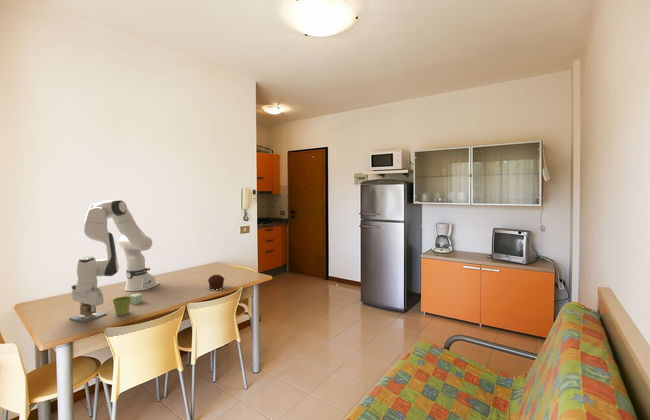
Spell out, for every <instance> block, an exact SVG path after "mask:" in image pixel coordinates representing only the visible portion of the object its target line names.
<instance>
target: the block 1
mask: <svg viewBox="0 0 650 420" xmlns="http://www.w3.org/2000/svg"><path fill="white" fill-rule="evenodd" d="M96 307H97V306H96ZM96 307H95V311H94V312H90V309H91V305H90V304H86V303H85V304H84V305H80V306H79V309H80V310H79V314H81V315H85V316H88V315H90V314H93V313H96V311H97V308H96Z"/></svg>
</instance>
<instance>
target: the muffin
mask: <svg viewBox="0 0 650 420" xmlns="http://www.w3.org/2000/svg"><path fill="white" fill-rule="evenodd" d="M224 281H225V278H224V277H223V276H222V275H221V274H212V275H210V277H208V279H207V282H208V285H209V286H208V287H209V290H210V289H214V290H216V289H220V288H222V287H224ZM222 289H223V288H222ZM214 290H213V291H214ZM216 291H217V290H216Z"/></svg>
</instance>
